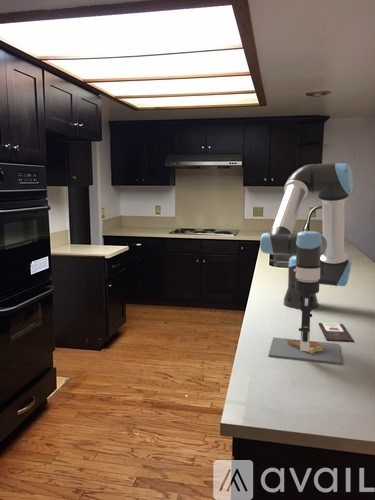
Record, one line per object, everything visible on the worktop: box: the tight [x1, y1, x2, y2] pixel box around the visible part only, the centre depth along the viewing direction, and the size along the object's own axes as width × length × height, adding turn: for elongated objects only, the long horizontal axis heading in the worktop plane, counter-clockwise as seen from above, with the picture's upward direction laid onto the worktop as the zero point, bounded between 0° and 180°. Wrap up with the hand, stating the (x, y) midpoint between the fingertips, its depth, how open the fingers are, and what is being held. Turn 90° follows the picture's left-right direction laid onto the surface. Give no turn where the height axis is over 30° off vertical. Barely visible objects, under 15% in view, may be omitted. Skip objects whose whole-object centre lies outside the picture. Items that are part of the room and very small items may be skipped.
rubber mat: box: [268, 337, 343, 365], centre depth 135 cm, size 16×22×1 cm
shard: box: [287, 339, 324, 354], centre depth 137 cm, size 11×8×2 cm
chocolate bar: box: [318, 322, 354, 343], centre depth 152 cm, size 9×1×18 cm
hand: (305, 342), depth 135 cm, fingers open, 13 cm apart
